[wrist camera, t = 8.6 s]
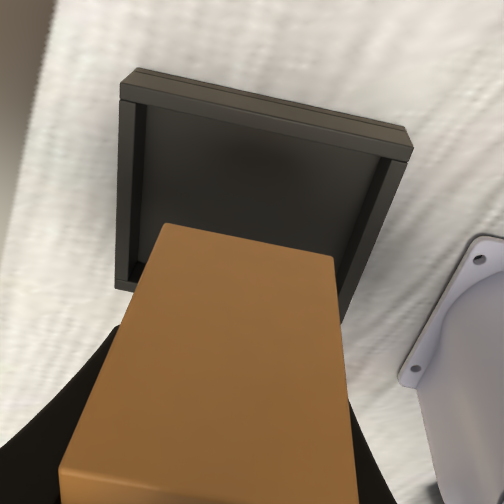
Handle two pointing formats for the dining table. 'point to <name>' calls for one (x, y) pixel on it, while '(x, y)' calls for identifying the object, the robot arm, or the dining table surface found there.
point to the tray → (250, 173)
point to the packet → (220, 383)
